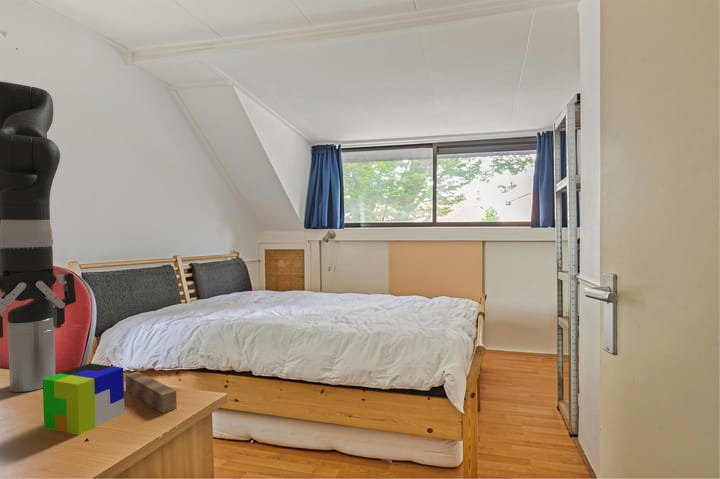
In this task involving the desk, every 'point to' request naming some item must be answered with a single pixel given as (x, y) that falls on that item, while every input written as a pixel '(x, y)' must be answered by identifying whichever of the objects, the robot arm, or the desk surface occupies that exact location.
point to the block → (151, 391)
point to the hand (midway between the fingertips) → (29, 332)
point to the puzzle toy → (83, 398)
